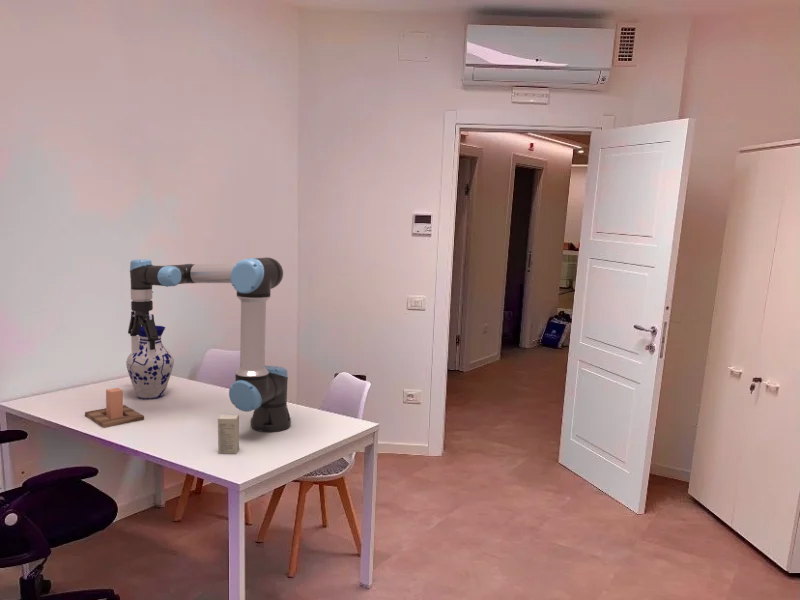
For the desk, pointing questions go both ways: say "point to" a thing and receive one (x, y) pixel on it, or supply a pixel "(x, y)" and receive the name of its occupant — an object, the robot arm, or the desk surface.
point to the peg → (114, 403)
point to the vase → (150, 367)
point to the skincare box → (228, 434)
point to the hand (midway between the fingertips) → (143, 355)
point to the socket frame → (104, 421)
